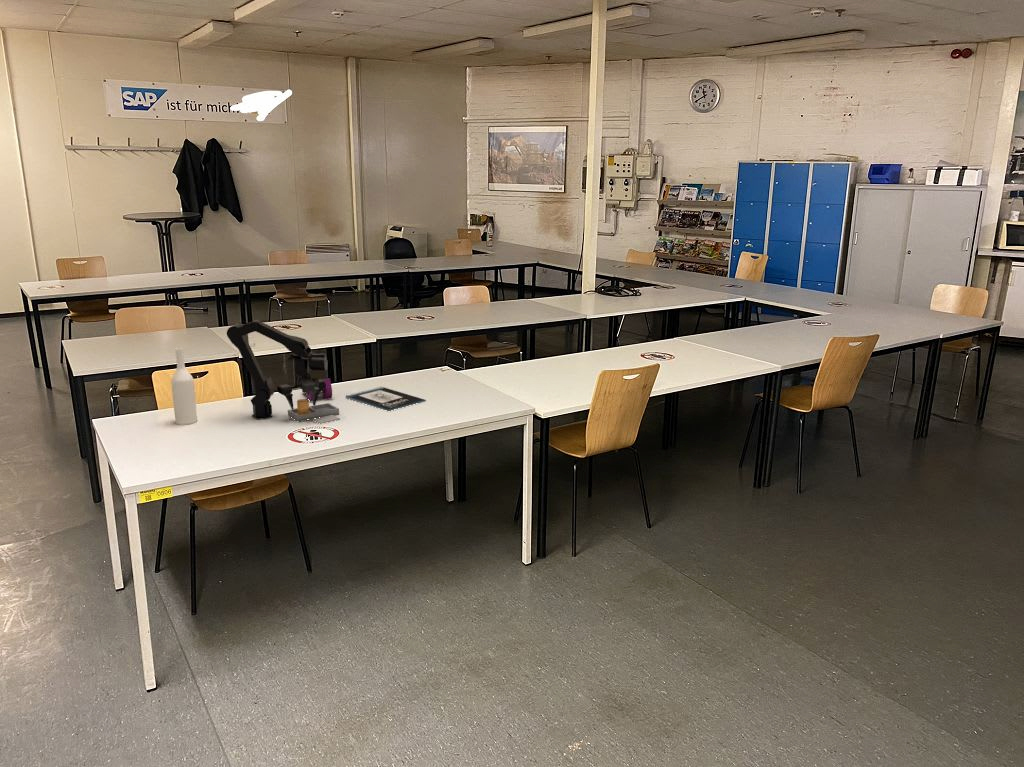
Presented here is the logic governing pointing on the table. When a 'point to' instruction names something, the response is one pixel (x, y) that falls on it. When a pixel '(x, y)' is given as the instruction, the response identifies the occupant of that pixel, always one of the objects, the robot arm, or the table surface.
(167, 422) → the table surface
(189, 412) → the bottle
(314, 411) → the housing
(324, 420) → the lid
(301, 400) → the orange drawer knob
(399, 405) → the sketchbook
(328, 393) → the mounting bracket
